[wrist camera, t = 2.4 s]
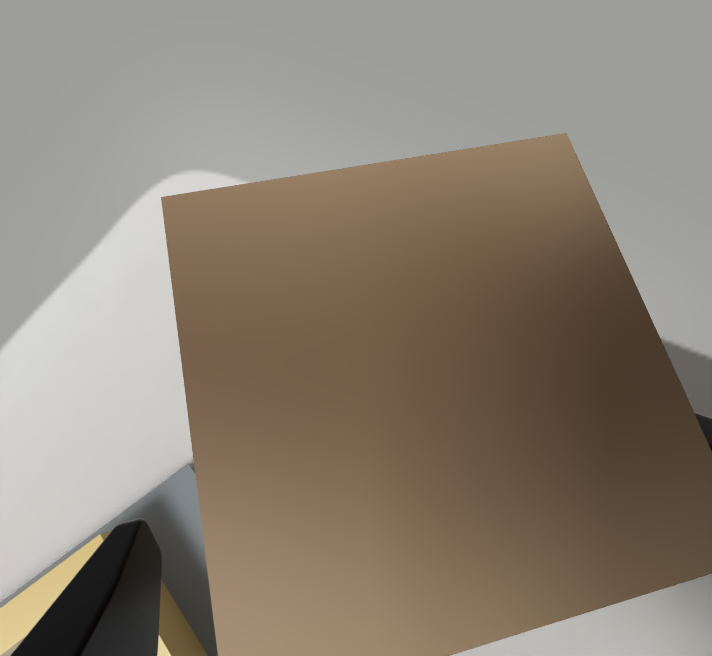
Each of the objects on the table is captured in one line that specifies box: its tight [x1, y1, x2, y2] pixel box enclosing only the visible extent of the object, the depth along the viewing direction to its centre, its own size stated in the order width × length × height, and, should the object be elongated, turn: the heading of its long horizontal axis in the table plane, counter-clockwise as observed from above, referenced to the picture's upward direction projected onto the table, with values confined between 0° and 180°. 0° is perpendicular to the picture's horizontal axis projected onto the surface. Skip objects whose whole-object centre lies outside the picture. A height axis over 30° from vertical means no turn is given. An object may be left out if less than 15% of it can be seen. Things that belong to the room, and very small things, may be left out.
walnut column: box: [161, 133, 712, 656], centre depth 11 cm, size 5×5×13 cm
